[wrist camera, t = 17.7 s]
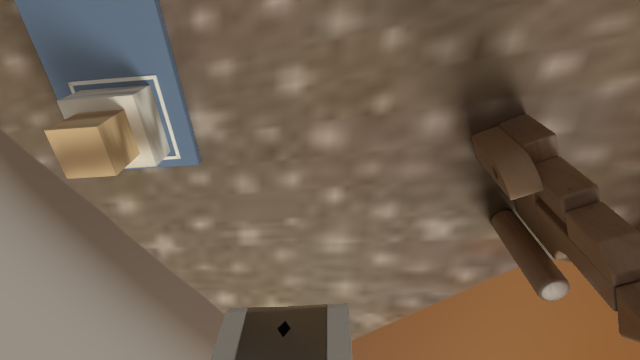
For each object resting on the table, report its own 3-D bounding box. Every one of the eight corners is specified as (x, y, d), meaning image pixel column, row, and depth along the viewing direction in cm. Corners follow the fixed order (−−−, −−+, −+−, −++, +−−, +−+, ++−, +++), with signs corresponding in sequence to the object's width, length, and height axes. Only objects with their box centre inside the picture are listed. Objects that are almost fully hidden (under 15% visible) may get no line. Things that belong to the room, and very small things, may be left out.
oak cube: (77, 112, 37) (44, 130, 33) (124, 109, 37) (96, 126, 33) (96, 156, 40) (67, 178, 35) (140, 153, 39) (116, 175, 35)
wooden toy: (467, 134, 43) (609, 296, 21) (525, 112, 41) (745, 262, 19) (492, 231, 49) (621, 432, 28) (544, 215, 48) (723, 414, 26)
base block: (80, 90, 40) (56, 101, 37) (149, 84, 40) (132, 95, 36) (106, 155, 44) (87, 170, 41) (170, 151, 44) (156, 166, 40)
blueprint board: (8, -32, 36) (-1, -32, 35) (146, -46, 35) (140, -47, 34) (94, 168, 46) (89, 172, 45) (201, 161, 45) (198, 165, 44)
